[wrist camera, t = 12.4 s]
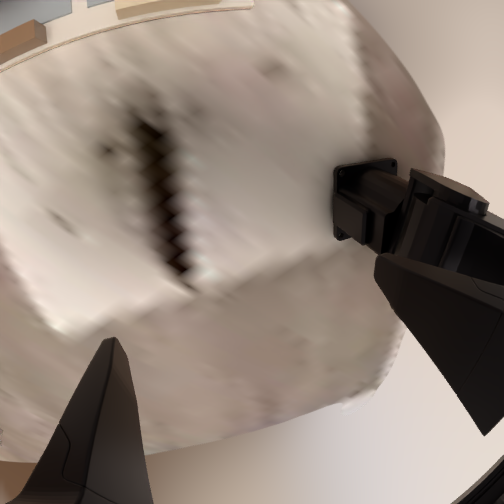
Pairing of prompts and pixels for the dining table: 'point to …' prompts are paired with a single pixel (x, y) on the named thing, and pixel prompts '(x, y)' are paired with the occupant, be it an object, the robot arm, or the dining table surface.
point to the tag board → (83, 20)
